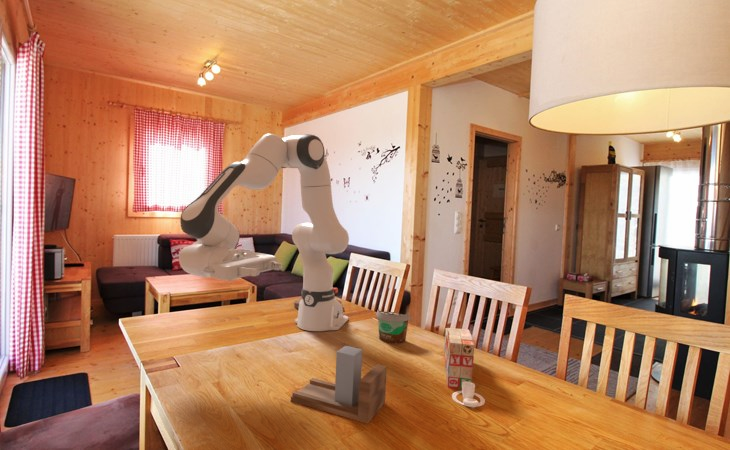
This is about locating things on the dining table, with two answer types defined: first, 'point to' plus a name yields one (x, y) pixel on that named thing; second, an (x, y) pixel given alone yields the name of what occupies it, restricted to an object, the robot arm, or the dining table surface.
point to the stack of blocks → (458, 356)
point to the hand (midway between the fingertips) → (269, 269)
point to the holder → (363, 411)
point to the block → (348, 375)
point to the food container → (392, 326)
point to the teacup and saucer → (468, 395)
